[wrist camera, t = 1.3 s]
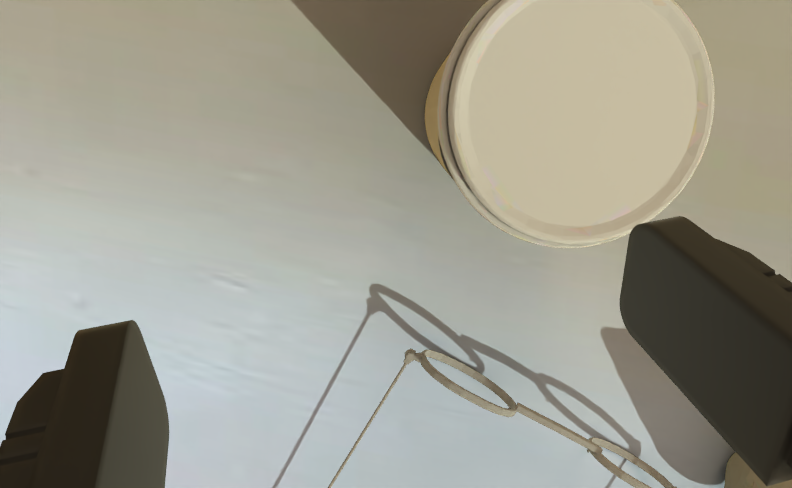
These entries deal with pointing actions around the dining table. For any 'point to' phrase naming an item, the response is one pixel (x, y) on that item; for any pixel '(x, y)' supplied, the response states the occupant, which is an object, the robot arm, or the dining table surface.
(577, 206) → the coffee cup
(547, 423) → the eyeglasses
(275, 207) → the dining table surface
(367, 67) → the dining table surface
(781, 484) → the ceramic sculpture
